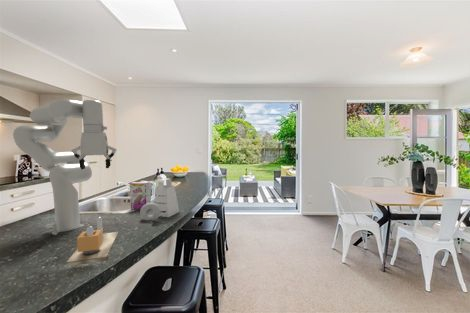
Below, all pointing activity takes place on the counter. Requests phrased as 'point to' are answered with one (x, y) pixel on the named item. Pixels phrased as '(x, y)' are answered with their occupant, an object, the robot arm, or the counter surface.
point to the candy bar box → (139, 194)
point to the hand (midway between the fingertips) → (95, 168)
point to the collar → (89, 241)
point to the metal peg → (89, 232)
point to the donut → (146, 207)
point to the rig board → (103, 251)
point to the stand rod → (99, 224)
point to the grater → (166, 198)
